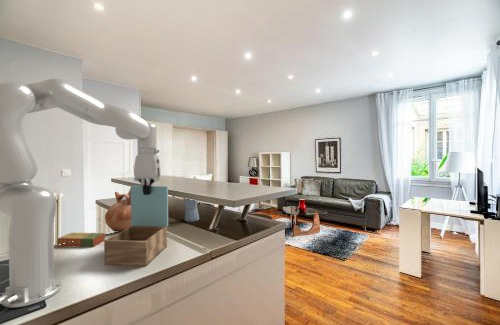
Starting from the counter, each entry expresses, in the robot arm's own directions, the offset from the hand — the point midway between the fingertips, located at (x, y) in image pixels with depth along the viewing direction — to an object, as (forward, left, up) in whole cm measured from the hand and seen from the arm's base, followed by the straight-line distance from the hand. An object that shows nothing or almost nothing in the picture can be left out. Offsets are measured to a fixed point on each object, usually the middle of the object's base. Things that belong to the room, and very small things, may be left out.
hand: (147, 194), depth 101 cm
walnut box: (-7, 0, -24) cm, 25 cm away
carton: (+3, +32, -24) cm, 40 cm away
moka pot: (+45, -6, -24) cm, 51 cm away
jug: (+25, +26, -24) cm, 43 cm away
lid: (+2, 0, -6) cm, 6 cm away
